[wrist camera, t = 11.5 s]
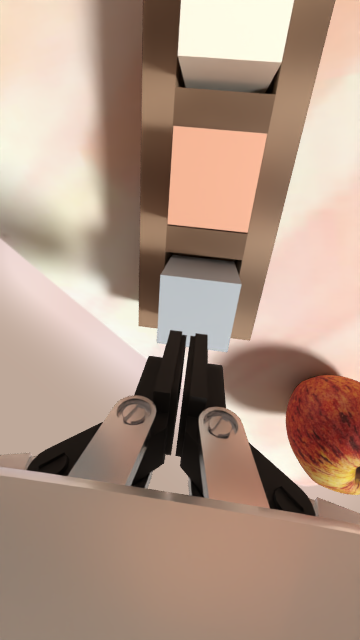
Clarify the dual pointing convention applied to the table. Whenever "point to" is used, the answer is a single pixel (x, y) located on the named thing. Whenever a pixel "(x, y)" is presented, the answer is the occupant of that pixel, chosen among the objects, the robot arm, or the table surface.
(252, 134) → the key terracotta
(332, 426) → the apple
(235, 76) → the key cream
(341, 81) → the table surface
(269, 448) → the table surface
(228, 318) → the grey block
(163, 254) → the frame block
